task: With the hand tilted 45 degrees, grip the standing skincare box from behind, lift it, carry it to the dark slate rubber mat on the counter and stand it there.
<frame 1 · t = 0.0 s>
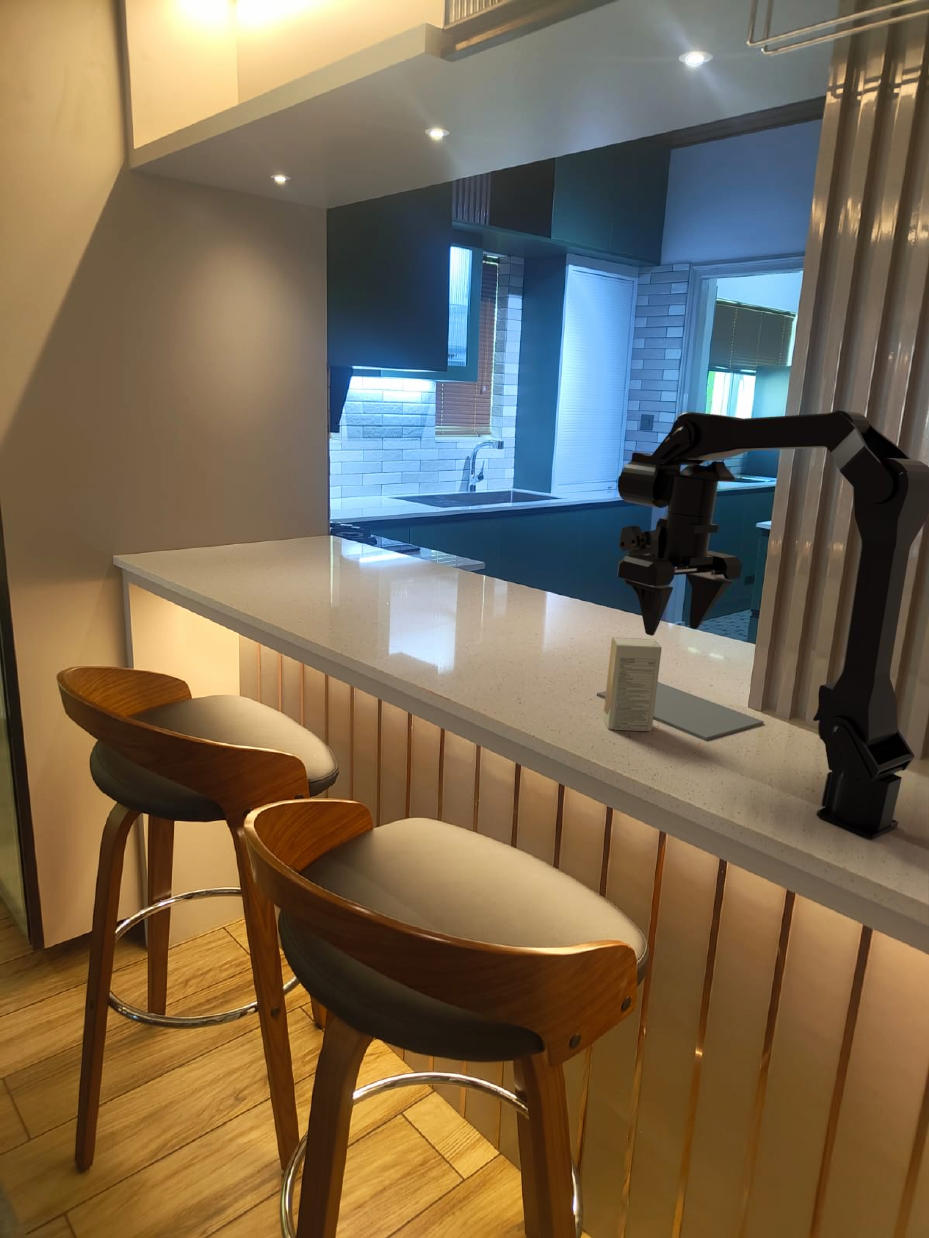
hand: (672, 631, 115), 15 cm above the countertop, tool pointing down, fingers open, 9 cm apart
skincare box: (625, 726, 121), on the countertop
slate mat: (678, 709, 130), on the countertop
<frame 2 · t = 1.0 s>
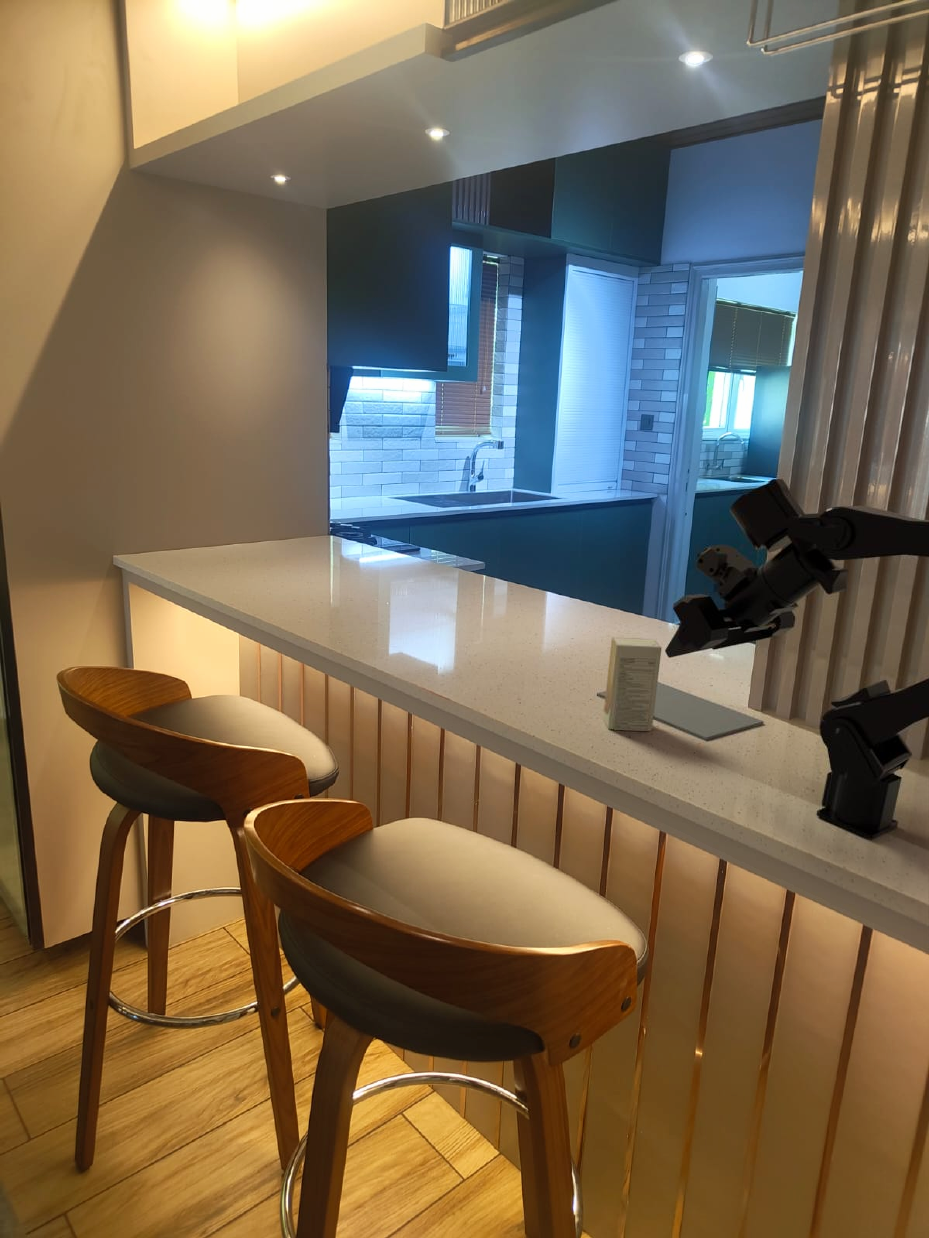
hand: (690, 650, 112), 13 cm above the countertop, tool tilted 45°, fingers open, 9 cm apart
nothing on the countertop moved.
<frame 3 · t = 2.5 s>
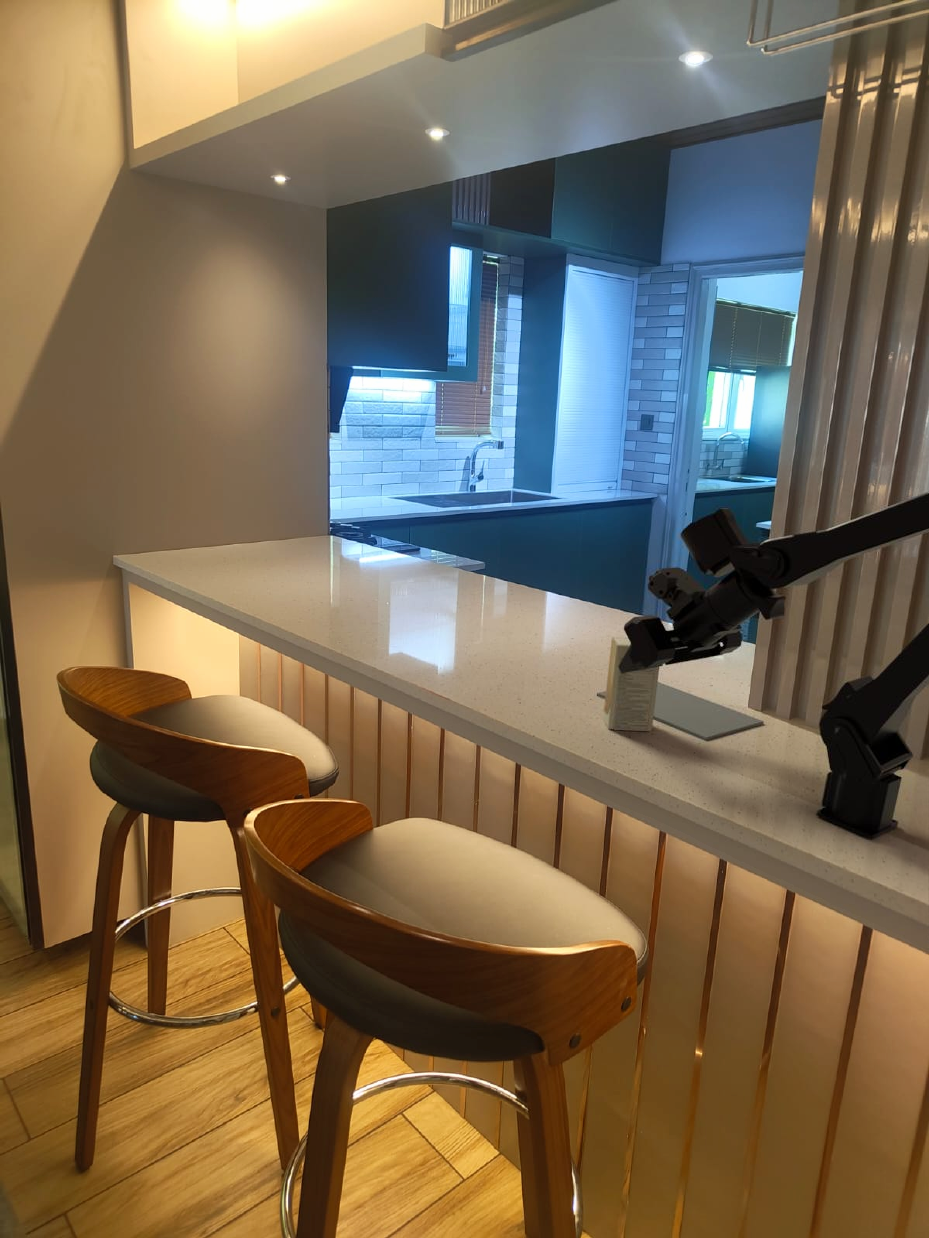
hand: (643, 665, 118), 9 cm above the countertop, tool tilted 45°, fingers open, 9 cm apart
nothing on the countertop moved.
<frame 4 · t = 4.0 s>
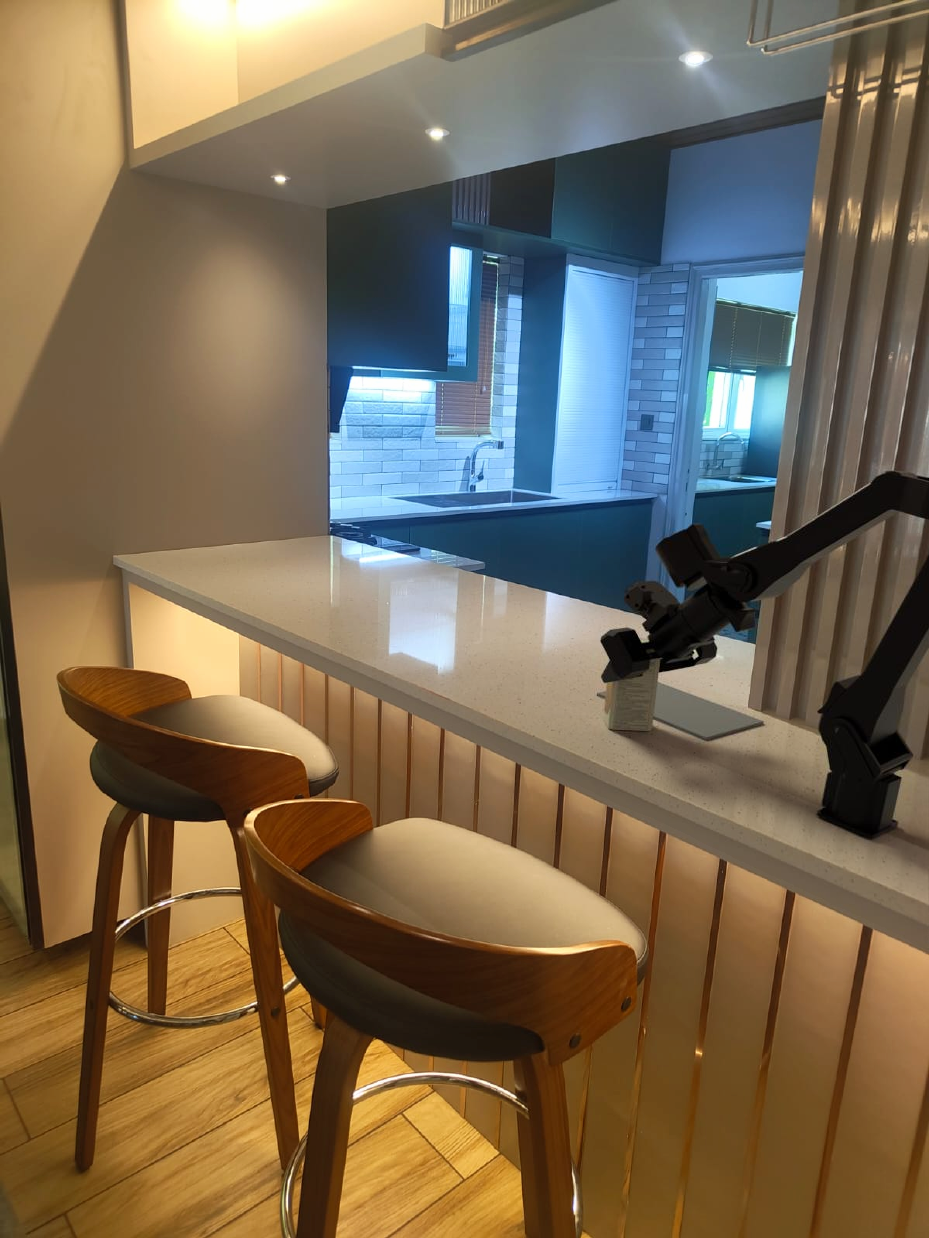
hand: (621, 676, 121), 7 cm above the countertop, tool tilted 45°, fingers closed on skincare box, 7 cm apart
skincare box: (625, 726, 121), on the countertop, touching gripper
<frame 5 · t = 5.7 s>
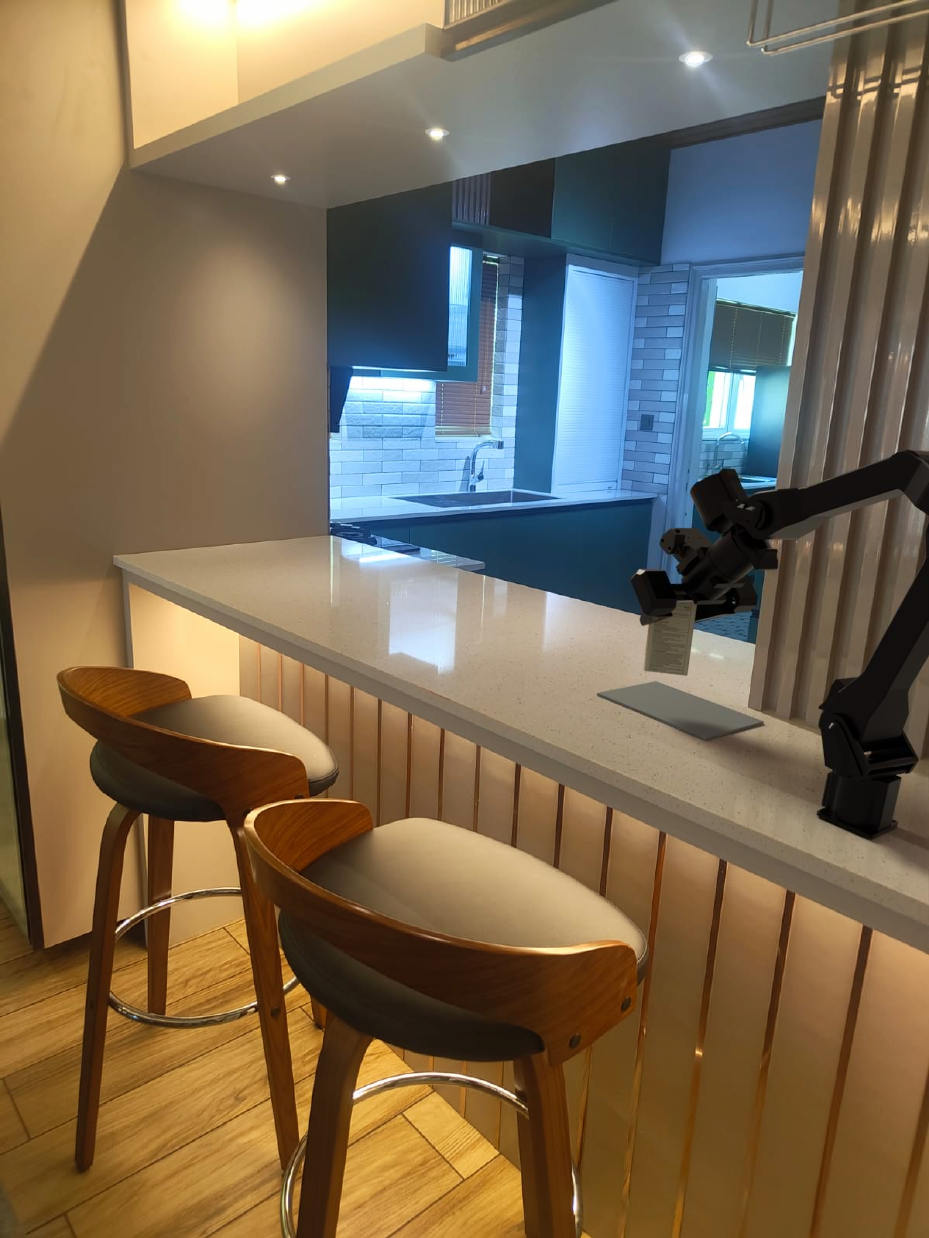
hand: (662, 622, 125), 13 cm above the countertop, tool tilted 45°, fingers closed on skincare box, 7 cm apart
skincare box: (663, 671, 125), point 7 cm above the countertop, touching gripper
when the fingers open (8 cm above the countertop, at t = 7.8 s): skincare box stays where it is, resting on slate mat.
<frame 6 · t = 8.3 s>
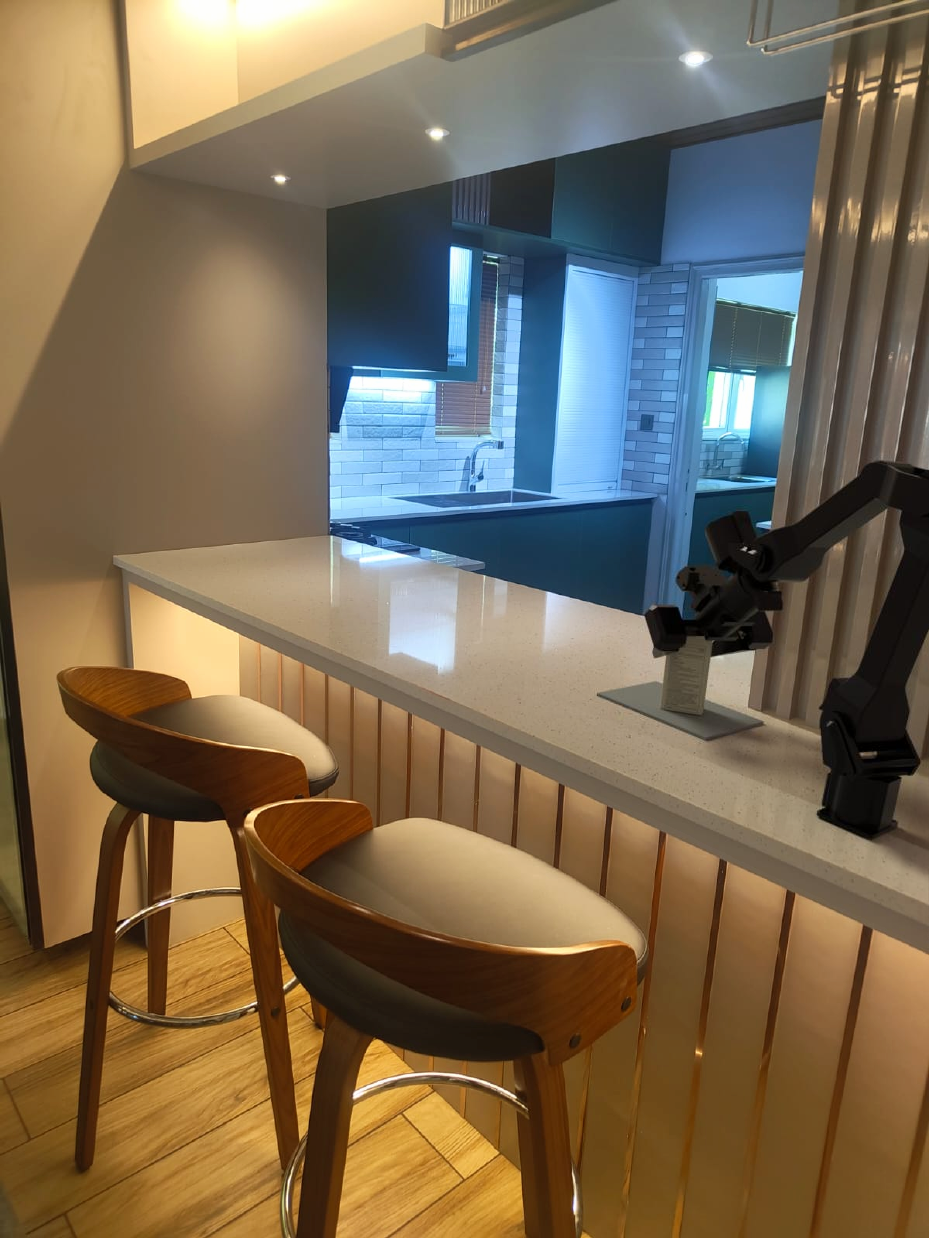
hand: (681, 654, 130), 8 cm above the countertop, tool tilted 45°, fingers open, 9 cm apart
skincare box: (680, 709, 130), resting on slate mat
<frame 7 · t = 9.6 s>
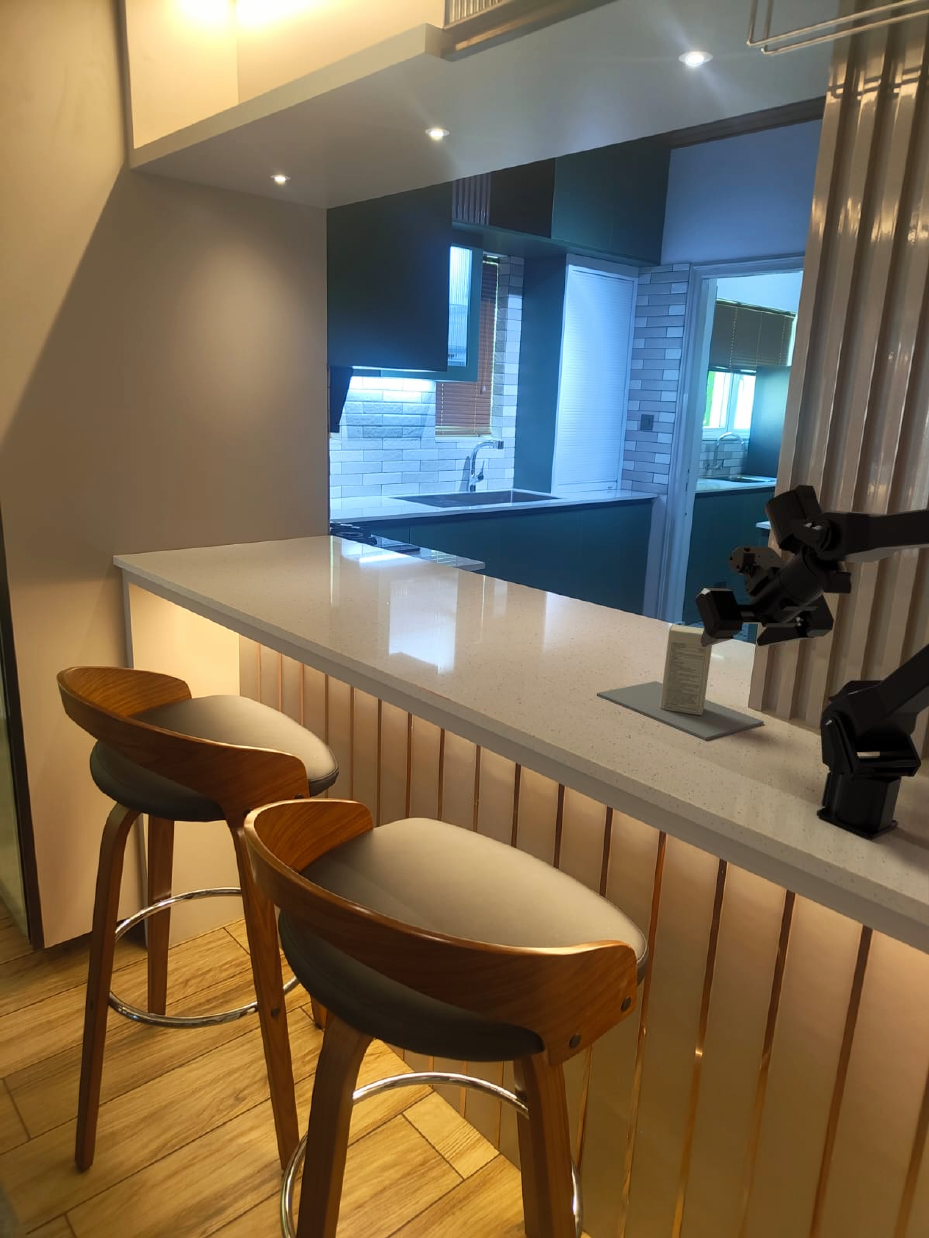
hand: (730, 643, 120), 13 cm above the countertop, tool tilted 45°, fingers open, 9 cm apart
nothing on the countertop moved.
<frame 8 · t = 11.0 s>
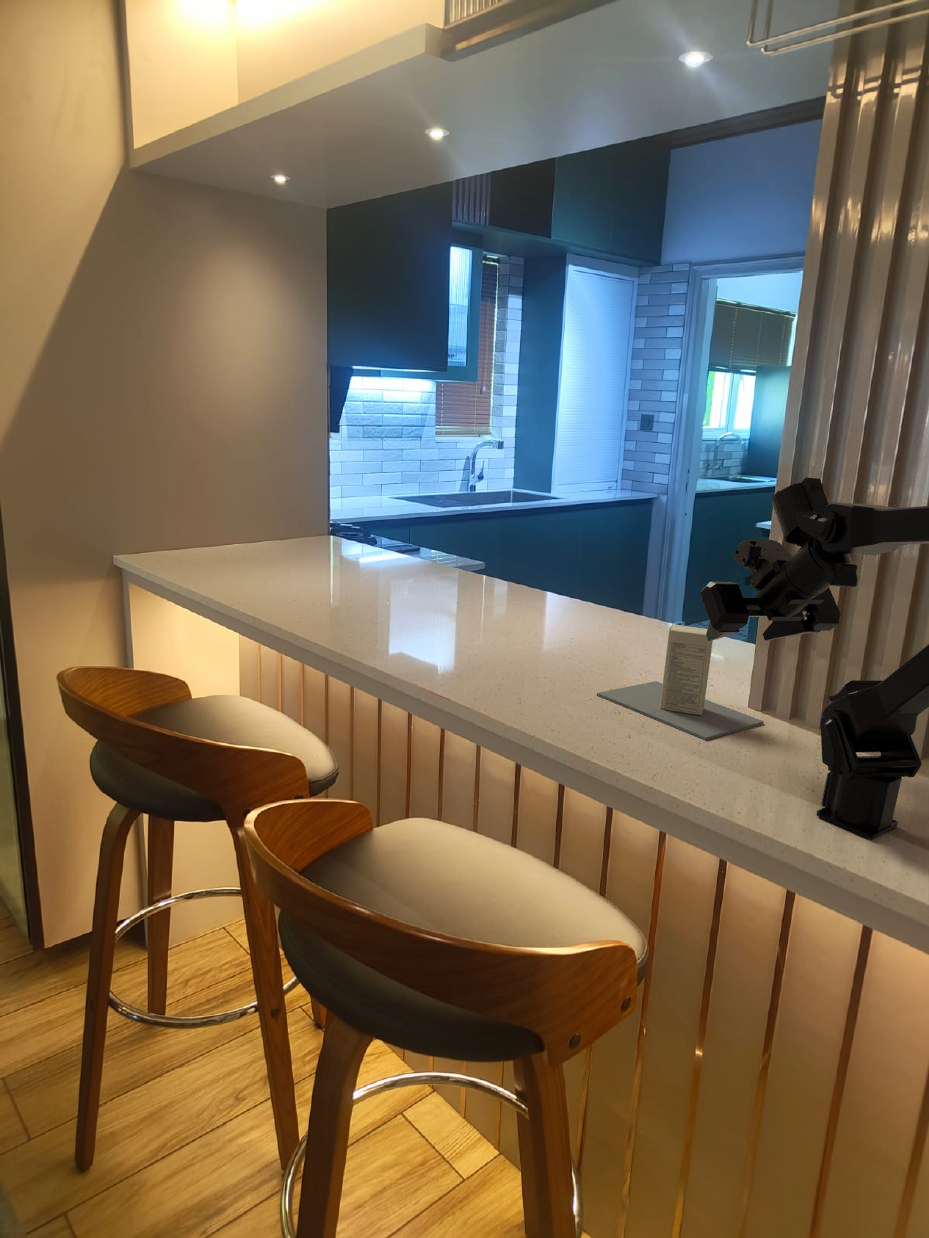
hand: (736, 637, 120), 14 cm above the countertop, tool tilted 45°, fingers open, 9 cm apart
nothing on the countertop moved.
at the end: skincare box inside the target area (0.8 cm from its centre), resting on slate mat; skincare box tilted 0°; the gripper is holding nothing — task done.
